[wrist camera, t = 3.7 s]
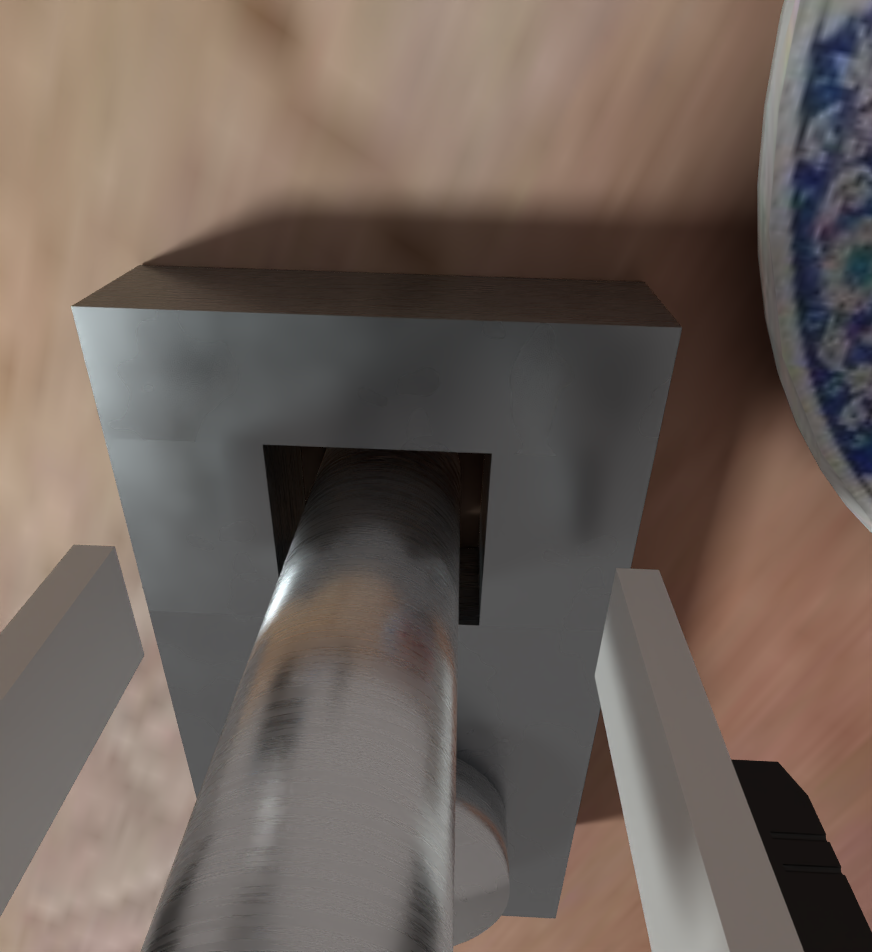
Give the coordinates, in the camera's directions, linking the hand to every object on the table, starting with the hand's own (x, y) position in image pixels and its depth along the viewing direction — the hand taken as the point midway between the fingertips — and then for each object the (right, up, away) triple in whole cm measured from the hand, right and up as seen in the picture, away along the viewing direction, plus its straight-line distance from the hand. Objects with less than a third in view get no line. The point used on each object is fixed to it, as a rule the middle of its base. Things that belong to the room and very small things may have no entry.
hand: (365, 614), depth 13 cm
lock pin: (0, +3, +5) cm, 5 cm away
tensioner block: (0, -2, +7) cm, 7 cm away
